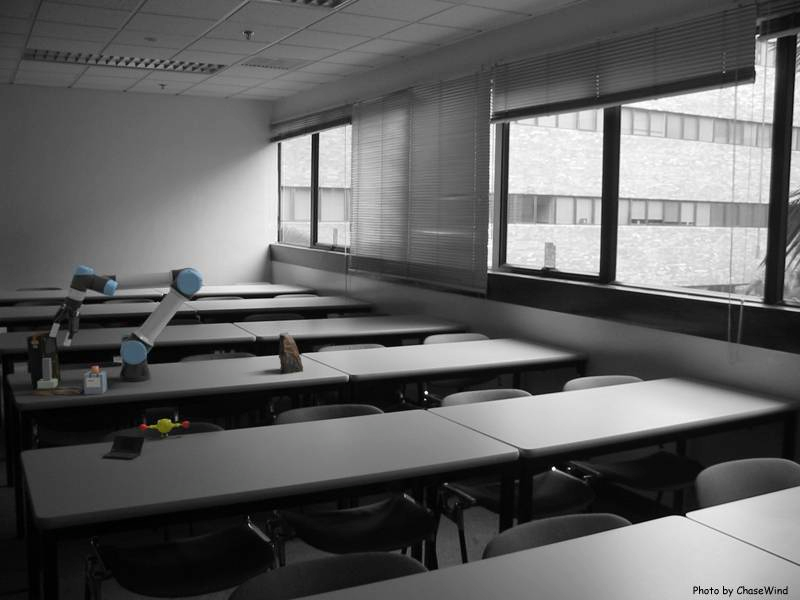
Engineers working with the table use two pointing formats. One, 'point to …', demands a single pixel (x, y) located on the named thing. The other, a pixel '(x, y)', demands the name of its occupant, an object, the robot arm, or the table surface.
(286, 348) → the brown rock
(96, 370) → the reset pin
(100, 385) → the gauge cabinet
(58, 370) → the black upright box
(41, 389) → the rail bed
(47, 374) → the grey post stand
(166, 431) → the toy figure
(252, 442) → the table surface
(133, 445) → the black laptop
